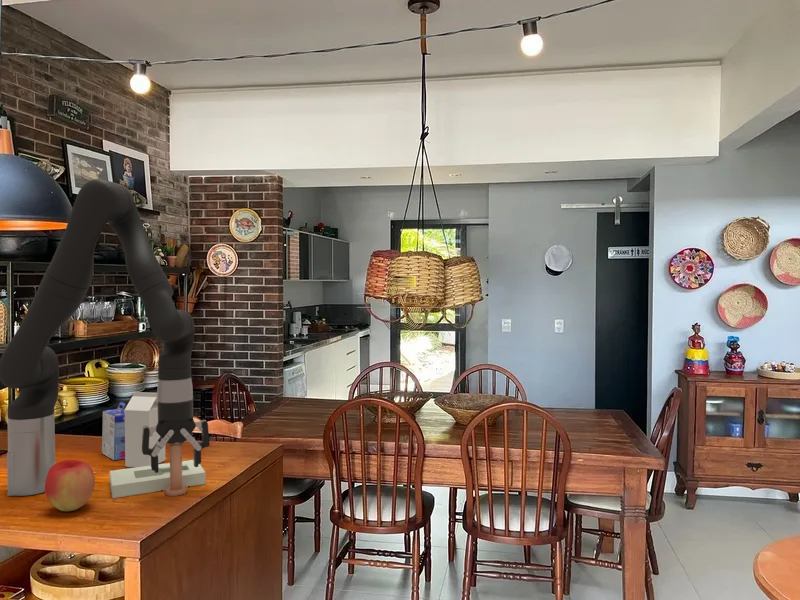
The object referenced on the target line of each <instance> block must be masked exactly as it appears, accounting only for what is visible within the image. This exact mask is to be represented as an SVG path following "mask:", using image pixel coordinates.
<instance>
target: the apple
mask: <svg viewBox="0 0 800 600" xmlns="http://www.w3.org/2000/svg"><path fill="white" fill-rule="evenodd" d="M95 480H96V478H95V473H94V470H93V468H92V466H91V465H90V464H89V463H87V462H86V461H81V460H76V459H67V460H61V461H58V462H55V464H54V465H53V466H51V468H50V469H49V471H48V474H47V478H46V482H45V492H44V493H45V497H46V499H47V502H48V503H50V504H51V505H52V506H53V507H54V508H56V509H57V510H58V511H61V512H73V511H76V510H78V509H80V508H81V507H83V506H84V505H86V503H87V502H88V501H89V500H90V498H91V496H92V495H93V492H94V490H95V484H96V483H95V482H96V481H95Z"/></svg>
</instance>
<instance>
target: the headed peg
mask: <svg viewBox="0 0 800 600" xmlns="http://www.w3.org/2000/svg"><path fill="white" fill-rule="evenodd" d="M182 444H183V443H174V444H169V463H170V486H169V487H167V488H166V489H165V490H164V492H165V494H166V495H168V496H167V497H179V496H178V495H180V496H183V495H182V494H184V495H185V493H186V492H187V493H188V487H187V486H185V485H182V461H183V445H182ZM166 495H165V496H166Z"/></svg>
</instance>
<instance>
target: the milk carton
mask: <svg viewBox="0 0 800 600" xmlns="http://www.w3.org/2000/svg"><path fill="white" fill-rule="evenodd" d="M124 410H125V459H124V462H125V463H124V464H125V467H128V468H135V467H143V466H150V465H151V456H150V455H144V454H143V452H142V433H143V427H144V426H148V427H156V426H157V423H158V400H157V392H147V391H146V392H145V391H144V392H143V391H133V392H132V396H131V398H130V400H129V402H128V403H127V405H125V407H124ZM159 438H160V436H159V434H158V433H157V432H156V431H155V432H154V433H153V435H152V436H151V437H149V448H151V449H152V448H153V447H154V445H155V444H156V442H157V440H158V439H159ZM161 440H162V439H161ZM157 455H158V464H162V463H163V462H165V461H166V445H165V446H164V447H163V448H162V449H161V450H160V452H159V453H158V454H157Z"/></svg>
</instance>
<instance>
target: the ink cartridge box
mask: <svg viewBox="0 0 800 600" xmlns="http://www.w3.org/2000/svg"><path fill="white" fill-rule="evenodd" d="M126 404H127V403H125V402H122V401H120V403H119V404H118V406H117V408H116V409H107V410H103V411H102V434H101V435H102V436H101V438H102V439H101V441H102V442H101V454H103V455H105V456H106V457H107V458H110V459H111V460H112V461H117V460H118V461H119V460H123V459H124V460H125V408H126V406H127V405H126ZM121 406H122V407H121Z"/></svg>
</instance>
